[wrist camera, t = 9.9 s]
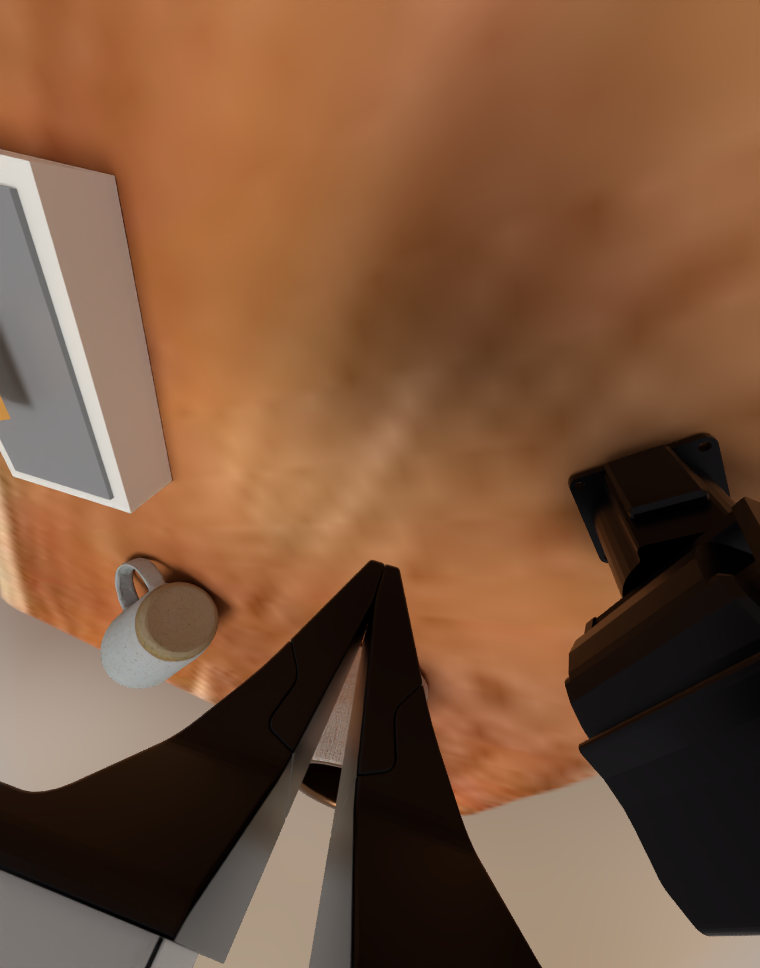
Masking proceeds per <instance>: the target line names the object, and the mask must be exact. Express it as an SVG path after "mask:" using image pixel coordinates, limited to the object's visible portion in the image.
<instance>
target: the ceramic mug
mask: <svg viewBox="0 0 760 968" xmlns="http://www.w3.org/2000/svg"><path fill="white" fill-rule="evenodd" d="M133 569H135V570H136V571H137V572H138V573H139V574H140V576H141V577H142V579H143V580H144V582H145V584H146V585H147V587H148V589H149V592H148V593H146V594H145V595H144V596H142V597H141V598H140V599H139V597H138V595H137V592H136V590H135V586H134V582H133V574H132V572H133ZM115 586H116V591H117V595H118V599H119V602H120V604H121V607H122V609H123V612H122V613H121V614H120V615H119V616H118V617H116V618H115V619H114V620H113V622H112V623H111V624H110V626H109V627H108V629H107V630H106V632H105V635H104V637H103V640H102V643H101V660H102V663H103V666H104V668H105V670H106V672H107V673H108V675H109V676H110V677H111V678H112V679H113V680H114V681H116V682H117V683H119V684H121V685H123V686H126V687H129V688H148V687H152V686H155V685H158V684H160V683H162V682H164V681H165V680H167V679H168V678H169V677H171V676H172V675H174V674H175V673H176V672H178V671H179V670H181V669H182V668H183V667H185V666H186V665H187V664H189V663H190V662H192V661H193V660H195V659H196V658H197V657H198V656H200V655H201V654H202V653H203V652H204V651H205V650H206V648H207V647H208V646H209V645H210V643H211V642H212V640H213V638H214V636H215V634H216V631H217V627H218V611H217V607H216V605H215V603H214V601H213V600H212V598H211V596H210V595H209V594H208V593H207V592H206V591H204V590H203V589H202V588H200V587H198V586H196V585H194V584H191V583H186V582H173V583H166V582H165V580H164V578H163V576H162V574H161V572H160V571H159V570H158V569H157V567H156V566H155V565H154V564H153V563H152V562H151V561H149V560H148V559H145V558H136V559H133V560H131V561H128V562H126V563H123V564H122V565H121V566H119V567H118V569H117V571H116V575H115Z"/></svg>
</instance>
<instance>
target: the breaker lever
mask: <svg viewBox="0 0 760 968" xmlns="http://www.w3.org/2000/svg"><path fill="white" fill-rule="evenodd" d="M8 419H11V418H10V416H9V414H8V411H7V409H6V407H5V405H4V403H3V400H2V398H1V396H0V421H1V420H8Z"/></svg>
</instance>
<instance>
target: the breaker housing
mask: <svg viewBox="0 0 760 968" xmlns="http://www.w3.org/2000/svg"><path fill="white" fill-rule="evenodd" d="M0 396H1V398H2V400H3V403H4V405H5V407H6V409H7V411H8V414H9V416H10V418H11V419H8V420H1V421H0V451H1V453H2V455H3V457H4V459H5V461H6V463H7V465H8V467H9V469H10V471H11V473H12V475H13V476H14V477H17V478H20V479H24V480H27V481H30V482H33V483H36V484H39V485H43V486H46V487H49V488H52V489H55V490H58V491H62V492H65V493H68V494H71V495H74V496H78V497H81V498H84V499H87V500H90V501H93V502H97V503H100V504H103V505H106V506H109V507H112V508H116V509H119V510H122V511H125V512H128V513H132V512H134V511H135V510H136V509H137V508H139V507H140V506H141V505H143V504H144V503H145V502H146V501H148V500H149V499H150V498H151V497H153V496H154V495H155V494H157V493H158V492H159V491H160V490H162V489H163V488H164V487H165V486H167V485H168V484H169V483H171V482H172V477H171V472H170V467H169V462H168V456H167V451H166V446H165V440H164V435H163V430H162V424H161V419H160V414H159V409H158V403H157V398H156V393H155V387H154V382H153V377H152V372H151V366H150V361H149V356H148V350H147V345H146V340H145V334H144V329H143V324H142V319H141V313H140V308H139V303H138V297H137V292H136V287H135V282H134V276H133V271H132V266H131V260H130V255H129V250H128V244H127V239H126V234H125V229H124V223H123V218H122V213H121V207H120V202H119V197H118V192H117V186H116V181H115V176H114V175H110V174H106V173H101V172H97V171H93V170H88V169H84V168H80V167H76V166H71V165H67V164H63V163H58V162H54V161H50V160H45V159H41V158H37V157H33V156H28V155H24V154H20V153H15V152H11V151H7V150H2V149H0Z"/></svg>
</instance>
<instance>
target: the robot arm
mask: <svg viewBox="0 0 760 968" xmlns="http://www.w3.org/2000/svg"><path fill="white" fill-rule="evenodd" d="M704 442H707V444H706V445H705V446H704V447H701V448H699V445H700V444H702V443H704ZM578 482H583V484H582V485H580V486H576V485H575V484H576V483H578ZM568 485H569V488H570V490H571V493H572V495H573V497H574V500H575V502H576V504H577V507H578V509H579V511H580V514H581V516H582V518H583V521H584V523H585V525H586V528H587V530H588V532H589V534H590V537H591V539H592V541H593V544H594V546H595V548H596V551H597V553H598V555H599V558H600V559H601V561H603V562H605V563H609V566H610V568H611V571H612V573H613V576H614V578H615V581H616V584H617V586H618V589H619V591H620V594H621V597H622V599H620V600H619V601H618V602H617V603H615V604H614V605H613V606H612V607H610V608H609V609H608V610H607V611H605V612H604V613H603V614H602V615H600V616H599V617H598V618H596V617H594V618H593V619H591V620H590V621H589V622H588V623H586V627H585V633H584V635H582V636H581V637H580V638H578V639H577V640H576V641H575V643H574V645H573V647H572V649H571V651H570V653H569V677H568V678H567V679H566V680H565V687H566V690H567V693H568V697H569V700H570V703H571V706H572V708H573V710H574V712H575V714H576V716H577V718H578V720H579V722H580V725H581V727H582V728H583V730H584V732H585V733H586V735H587V736H588V738H589V739H588V740H586V741H584V742H583V743H581V744H579V750H580V753H581V754H582V755H583V756H584V758H585V759H586V760H587V761H588V762H589V763H590V764H591V765H592V767H593V768H594V769H595V770H596V771H597V772H598V773H599V774H600V776H601V777H602V778H603V779H604V780H605V782H606V783H607V785H608V786H609V788H610V789H611V791H612V792H613V794H614V795H615V797H616V798H617V799H618V801H619V802H620V804H621V805H622V807H623V808H624V810H625V812H626V814H627V816H628V818H629V819H630V821H631V823H632V825H633V827H634V829H635V831H636V833H637V835H638V837H639V839H640V841H641V843H642V845H643V847H644V849H645V851H646V853H647V855H648V857H649V859H650V861H651V863H652V865H653V868H654V870H655V872H656V874H657V876H658V878H659V880H660V882H661V884H662V885H663V887H664V888H665V890H666V891H667V892H668V894H669V895H670V896H671V898H672V899H673V900H674V901H675V902H676V904H677V905H678V907H679V908H680V909H681V910H682V911H683V913H684V914H685V915H686V917H687V918H688V919H689V920H690V922H691V923H692V924H693V925H694V926H695V928H696V929H697V930H698V931H700V932H701V933H702V934H704V935H706V936H748V935H760V502H757V501H755V500H752V499H750V498H748V497H744V498H742V499H741V500H740V501H739V502H737V503H735V502H734V501H733V500H732V499H731V498H730V493H729V489H728V484H727V480H726V475H725V471H724V466H723V462H722V457H721V453H720V448H719V444H718V441H717V440H716V439H715V438H714V437H713V436H711V435H710V434H699V435H696V436H693V437H690V438H686V439H683V440H680V441H677V442H674V443H671V444H668V445H665V446H664V445H661V446H658V447H655V448H652V449H649V450H646V451H643V452H640V453H637V454H634V455H631V456H628V457H624V458H621V459H618V460H615V461H612V462H609V463H608V464H607V465H604V466H601V467H598V468H595V469H592V470H589V471H586V472H583V473H579V474H576V475H574V476H572V477H571V478H570V479H569V481H568ZM367 624H368V625H367ZM365 631H366V632H365ZM364 634H365V636H364ZM363 637H364V640H363ZM362 640H363V645H362V650H361V656H360V662H359V668H358V674H357V680H356V686H355V692H354V698H353V704H352V710H351V716H350V723H349V729H348V735H347V741H346V747H345V753H344V759H343V765H342V771H341V777H340V783H339V789H338V795H337V801H336V807H335V813H334V820H333V825H332V831H331V838H330V843H329V849H328V855H327V861H326V867H325V873H324V879H323V885H322V891H321V897H320V904H319V910H318V916H317V922H316V928H315V934H314V940H313V946H312V952H311V958H310V964H309V968H542V967H541V965H540V964H539V962H538V960H537V959H536V957H535V955H534V954H533V952H532V950H531V948H530V947H529V945H528V943H527V941H526V940H525V938H524V936H523V935H522V933H521V931H520V929H519V927H518V926H517V924H516V922H515V920H514V919H513V917H512V915H511V913H510V912H509V910H508V908H507V906H506V905H505V903H504V901H503V899H502V898H501V896H500V894H499V893H498V891H497V889H496V887H495V886H494V884H493V882H492V880H491V879H490V877H489V875H488V873H487V872H486V870H485V868H484V866H483V865H482V863H481V861H480V859H479V858H478V856H477V854H476V852H475V850H474V848H473V846H472V843H471V841H470V839H469V836H468V834H467V831H466V829H465V826H464V823H463V821H462V818H461V815H460V812H459V809H458V806H457V802H456V799H455V796H454V793H453V790H452V787H451V784H450V781H449V778H448V775H447V771H446V768H445V765H444V762H443V759H442V756H441V753H440V750H439V746H438V743H437V739H436V736H435V733H434V729H433V726H432V722H431V718H430V713H429V709H428V705H427V700H426V695H425V691H424V686H423V685H422V684H423V681H422V677H421V672H420V667H419V662H418V657H417V652H416V647H415V642H414V637H413V632H412V628H411V623H410V618H409V613H408V608H407V603H406V598H405V593H404V588H403V583H402V579H401V574H400V570H399V568H397V567H394V566H391V565H385V566H384V564H383V563H381V562H378V561H375V560H370V561H369V562H368V563H367V564H366V565H365V566H364V567H363V568H362V569H361V570H360V571H359V572H358V573H357V574H356V575H355V576H354V577H353V578H352V579H351V580H350V581H349V582H348V583H347V584H346V585H345V586H344V587H343V588H342V589H341V590H340V591H339V592H338V593H337V594H336V595H335V596H334V597H333V598H332V599H331V600H330V601H329V602H328V603H327V604H326V605H325V606H324V607H323V608H322V609H321V610H320V611H319V612H318V613H317V614H316V615H315V616H314V617H313V618H312V619H311V620H310V621H309V622H308V623H307V624H306V625H305V626H304V627H303V628H302V629H301V630H300V631H299V632H298V633H297V634H296V635H295V636H294V637H293V638H292V639H291V642H290V641H289V642H288V643H287V644H286V645H285V646H284V647H283V648H282V649H281V650H280V651H279V652H278V653H277V654H275V655H274V656H273V657H272V658H271V659H270V660H269V661H268V662H267V663H266V664H265V665H264V666H263V667H262V668H260V669H259V670H258V671H257V672H256V673H254V674H253V675H252V676H251V677H250V678H248V679H247V680H246V681H245V682H244V683H242V684H241V685H240V686H239V687H237V688H236V689H235V690H234V691H232V692H231V693H230V694H229V695H227V696H226V697H225V698H223V699H222V700H221V701H220V702H218V703H217V704H216V705H215V706H213V707H212V708H211V709H210V710H208V711H207V712H206V713H205V714H203V715H202V716H201V717H200V718H198V719H197V720H196V721H194V722H193V723H192V724H190V725H189V726H188V727H186V728H185V729H183V730H182V731H180V732H179V733H177V734H176V735H174V736H172V737H171V738H169V739H167V740H165V741H163V742H161V743H159V744H157V745H154V746H152V747H150V748H148V749H146V750H143V751H141V752H139V753H137V754H135V755H133V756H131V757H128V758H126V759H124V760H122V761H119V762H117V763H115V764H113V765H111V766H108V767H106V768H104V769H102V770H100V771H97V772H95V773H93V774H91V775H89V776H86V777H84V778H82V779H80V780H78V781H75V782H73V783H71V784H68V785H65V786H63V787H60V788H57V789H52V790H48V791H41V792H30V791H24V790H21V789H19V788H16V787H13V786H11V785H8V784H5V783H3V782H0V968H193V966H194V964H195V961H196V959H197V956H198V954H201V955H203V956H206V957H208V958H211V959H213V960H215V961H218V962H220V963H224V962H225V960H226V957H227V955H228V953H229V950H230V948H231V946H232V943H233V941H234V939H235V936H236V934H237V931H238V929H239V927H240V925H241V922H242V920H243V918H244V915H245V913H246V911H247V908H248V906H249V904H250V901H251V899H252V897H253V894H254V892H255V890H256V887H257V885H258V883H259V880H260V878H261V876H262V873H263V871H264V869H265V866H266V864H267V862H268V859H269V857H270V855H271V852H272V850H273V848H274V846H275V843H276V841H277V839H278V836H279V834H280V832H281V829H282V827H283V825H284V822H285V818H286V817H287V815H288V813H289V811H290V808H291V806H292V804H293V801H294V799H295V797H296V794H297V792H298V790H299V787H300V785H301V783H302V780H303V778H304V776H305V773H306V771H307V769H308V766H309V764H310V762H311V759H312V757H313V755H314V752H315V750H316V748H317V746H318V743H319V741H320V739H321V736H322V734H323V732H324V729H325V727H326V725H327V722H328V720H329V718H330V715H331V713H332V711H333V708H334V706H335V704H336V701H337V699H338V697H339V694H340V692H341V690H342V687H343V685H344V683H345V680H346V678H347V676H348V673H349V671H350V669H351V666H352V664H353V662H354V659H355V657H356V655H357V653H358V650H359V648H360V645H361V643H362Z"/></svg>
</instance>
